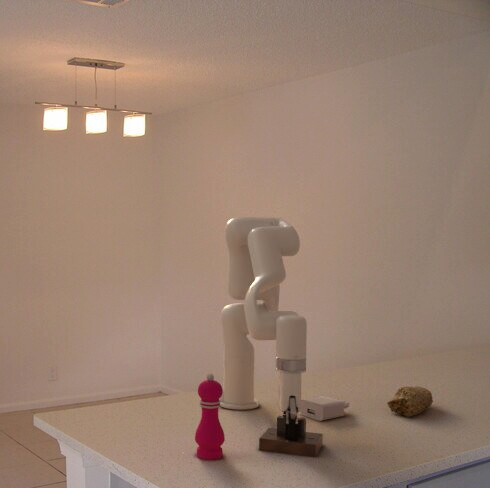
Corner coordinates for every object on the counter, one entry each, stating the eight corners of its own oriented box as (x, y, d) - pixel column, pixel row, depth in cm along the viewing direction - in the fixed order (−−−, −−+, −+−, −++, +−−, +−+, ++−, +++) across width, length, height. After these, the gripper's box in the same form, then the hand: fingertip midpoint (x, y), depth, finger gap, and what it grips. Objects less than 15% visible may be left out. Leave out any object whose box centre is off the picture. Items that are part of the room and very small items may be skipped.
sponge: (419, 424, 209) (448, 398, 223) (413, 398, 208) (441, 374, 222) (379, 423, 218) (409, 398, 232) (372, 398, 218) (402, 375, 232)
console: (258, 450, 180) (258, 438, 180) (269, 438, 190) (269, 426, 190) (315, 457, 175) (315, 444, 175) (322, 444, 185) (323, 432, 185)
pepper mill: (193, 451, 179) (193, 370, 179) (221, 450, 180) (222, 370, 179) (196, 460, 172) (197, 377, 171) (226, 460, 173) (227, 376, 172)
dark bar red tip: (276, 435, 183) (276, 416, 183) (278, 432, 185) (278, 414, 185) (304, 438, 180) (304, 419, 180) (306, 436, 182) (306, 417, 182)
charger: (358, 414, 215) (322, 421, 207) (335, 407, 223) (299, 414, 214) (358, 398, 215) (323, 405, 206) (335, 392, 222) (300, 398, 214)
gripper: (273, 357, 191) (272, 424, 191) (278, 371, 174) (277, 445, 174) (302, 358, 190) (301, 425, 191) (310, 372, 173) (309, 446, 174)
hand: (290, 434), depth 183 cm, fingers open, 6 cm apart
